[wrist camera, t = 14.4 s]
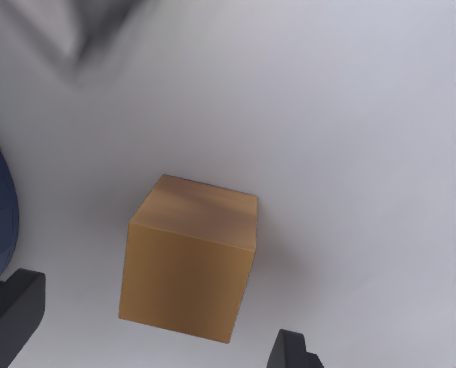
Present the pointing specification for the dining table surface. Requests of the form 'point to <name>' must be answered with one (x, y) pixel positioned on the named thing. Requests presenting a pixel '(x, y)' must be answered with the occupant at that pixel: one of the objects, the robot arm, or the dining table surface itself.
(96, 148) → the dining table surface
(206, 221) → the piece
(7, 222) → the tin
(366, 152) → the dining table surface
